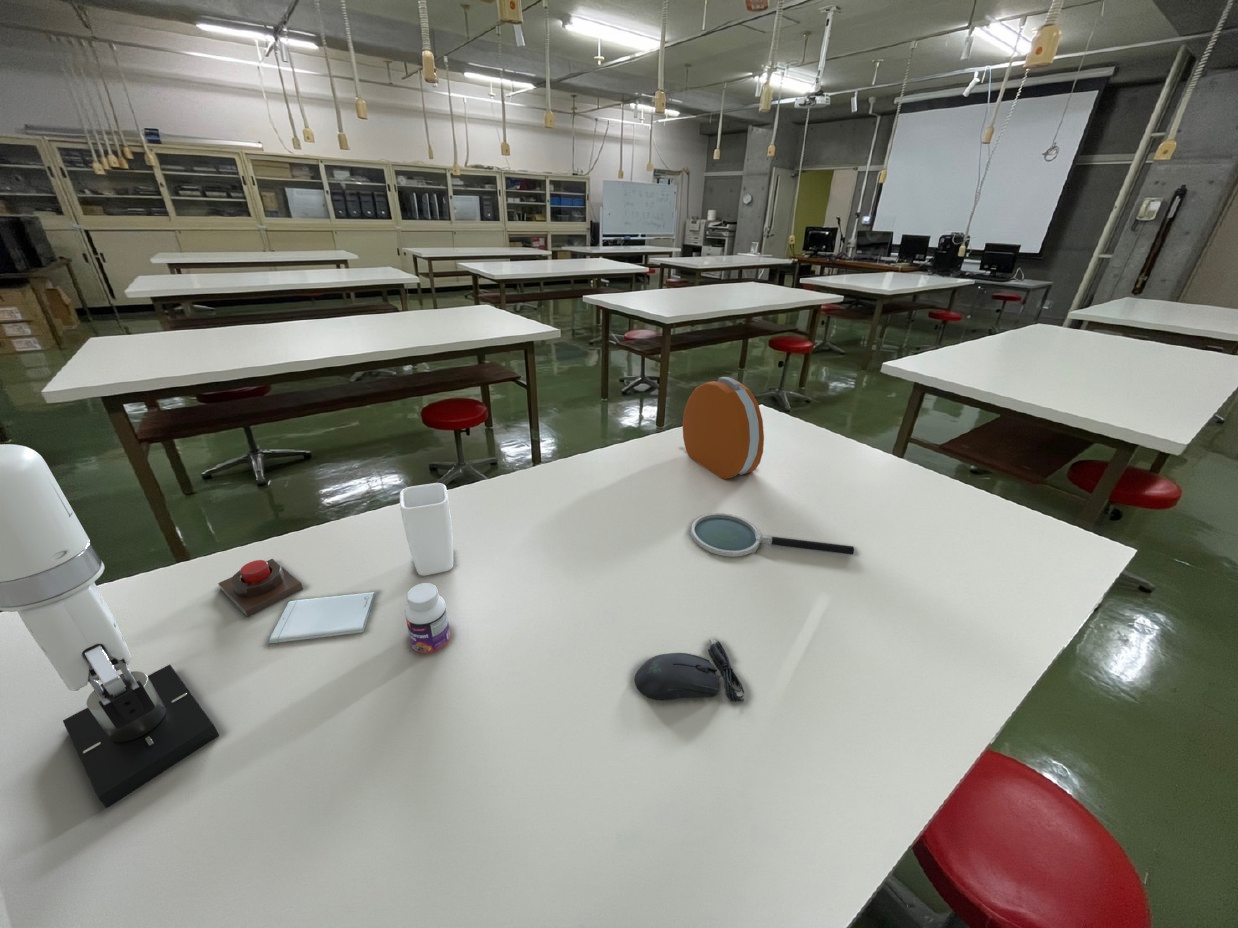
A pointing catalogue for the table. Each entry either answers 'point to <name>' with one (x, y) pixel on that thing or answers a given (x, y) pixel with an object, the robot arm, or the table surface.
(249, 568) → the button
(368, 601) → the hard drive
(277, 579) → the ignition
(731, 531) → the magnifying glass
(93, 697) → the knob
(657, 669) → the computer mouse
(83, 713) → the rotary dial switch
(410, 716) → the table surface
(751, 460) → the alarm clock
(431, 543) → the cup
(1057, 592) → the table surface
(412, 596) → the pill bottle
